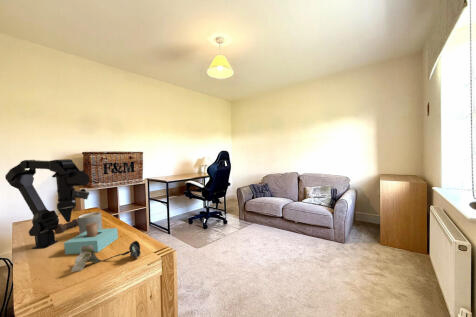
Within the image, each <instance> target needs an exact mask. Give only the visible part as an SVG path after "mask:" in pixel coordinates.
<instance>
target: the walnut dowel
mask: <svg viewBox="0 0 476 317" xmlns="http://www.w3.org/2000/svg"><path fill="white" fill-rule="evenodd" d="M86 231H87V237H95V236H97V235H98V230H97V222H94V223H89V224H87V225H86Z"/></svg>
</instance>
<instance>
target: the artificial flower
mask: <svg viewBox="0 0 476 317" xmlns="http://www.w3.org/2000/svg"><path fill="white" fill-rule="evenodd" d="M81 248H82V249H81ZM81 248H80V250H82V252H81V251H80V252H81V253H79V254H78V255H77V257H76V258H75V259H74V265H73V266H72V268H71V270H70V272H78V271H82V270H83V269H84V267H85V266H86V264H87V263H93V264H96V263H102V262H106V261H108V260H110V259H113V258H115V257H119V256H126V255H130V257H131V258H132V257H134V258H135V259H136V260H137V259H138V258H139V257H140V255H141V253H142V252H141V244H140V242H139V241H138V240H134V241H132V243H130V245H129V250H127V251H125V252H123V253H118V254H116V255H114V256H111V257H108V258H106V259H103V260H101V259H99V258H98V257H97V255H96V254H95V253H96V252H95V253H94V249H93V246H92V245H89V246H82V247H81Z"/></svg>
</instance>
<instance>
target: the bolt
mask: <svg viewBox="0 0 476 317" xmlns="http://www.w3.org/2000/svg"><path fill="white" fill-rule="evenodd" d="M76 226H77V227H79V223H78V218H75V219H72V220H71V221H70V222H66V223H58V228H57V229H55V230H53V231H54V234H62V233H64V232H65V230H67V229H71V228H77V227H76Z"/></svg>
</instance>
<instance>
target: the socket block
mask: <svg viewBox="0 0 476 317" xmlns="http://www.w3.org/2000/svg"><path fill="white" fill-rule="evenodd" d="M97 230H98V235H97V236H95V237H87V231H86V232H84V233H82V234H78V235H76V236H74V237H72V238H70V239H69V240H66V241H64V243H63V246H64V247H63V248H64V254H65V255H74V254H75V255H76V254H77V255H80V253H81V252H82V250H80V248H81V247H82V246H89V245H92V246H93V249H94V253H100V251H102V250H104V248H106V247H108V246H110V245H111V243H113V242H114V241H116V240H117V239H118V238H119V233H118V228H117V227H113V228H111V227H110V228H102V229H97ZM81 249H82V248H81ZM80 251H81V252H80Z"/></svg>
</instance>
